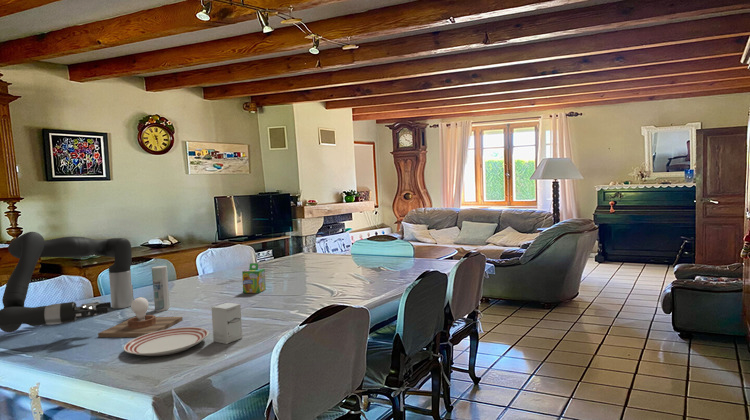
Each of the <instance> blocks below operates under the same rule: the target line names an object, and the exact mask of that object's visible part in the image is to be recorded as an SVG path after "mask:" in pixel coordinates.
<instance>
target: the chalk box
mask: <svg viewBox="0 0 750 420" xmlns="http://www.w3.org/2000/svg"><path fill="white" fill-rule="evenodd" d="M253 266H255V267H253ZM241 273H242V294H260V293H262V292H264V291H265V290H267V289H266V269H265V268H259V263H258V262H257V263H256V262H254V263H253V262H252V263H249V267H248V269H245V270H242V272H241Z"/></svg>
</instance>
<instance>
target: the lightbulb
mask: <svg viewBox="0 0 750 420" xmlns="http://www.w3.org/2000/svg"><path fill="white" fill-rule="evenodd" d="M149 305H150V303H149V300H148V299H146V298H145V297H137V298H135V299H134V300H133V302H132V304H131V306H130V309H131V311H132V312H133V313H134V315H135V317H137V319H138V321H144V320H145V315H147V311H148V308H149Z"/></svg>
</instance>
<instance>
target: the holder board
mask: <svg viewBox="0 0 750 420" xmlns="http://www.w3.org/2000/svg"><path fill="white" fill-rule="evenodd" d="M182 321H183V316H156V315H153V314H145V320H144V321H138V319H137V317H136V316H134V317H131V318H128V319H127V320H125V321H123V322H120V323H118V324H116V325H114V326H113V325H112V327H109V328H107V329H105V330H102V331H100V332H98V333H97V335H98V338H137V337H140V336H142V335H145V334H149V333H152V332H156V331H161V330H166V329H170V328H172V326H175V325H176V324H179V323H180V322H182Z"/></svg>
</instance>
